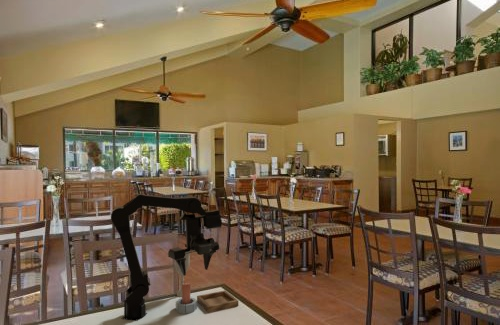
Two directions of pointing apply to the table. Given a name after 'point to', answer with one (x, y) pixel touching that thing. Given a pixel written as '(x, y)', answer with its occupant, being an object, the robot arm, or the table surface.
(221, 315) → the table surface
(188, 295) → the dowel
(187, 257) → the chalice
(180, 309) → the grey hex nut
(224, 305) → the tray
